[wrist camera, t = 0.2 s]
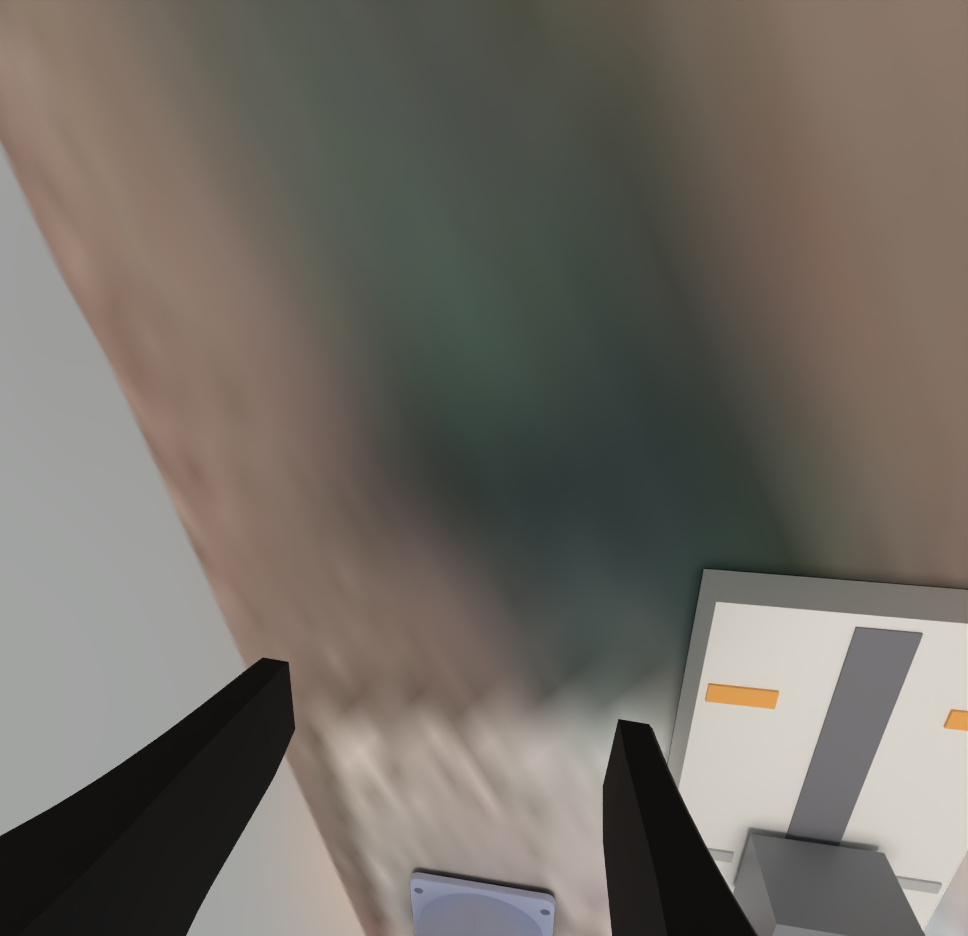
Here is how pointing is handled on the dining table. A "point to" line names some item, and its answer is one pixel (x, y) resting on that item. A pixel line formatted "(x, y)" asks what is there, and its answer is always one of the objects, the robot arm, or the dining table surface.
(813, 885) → the fader cap
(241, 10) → the dining table surface
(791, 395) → the dining table surface
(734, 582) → the console
